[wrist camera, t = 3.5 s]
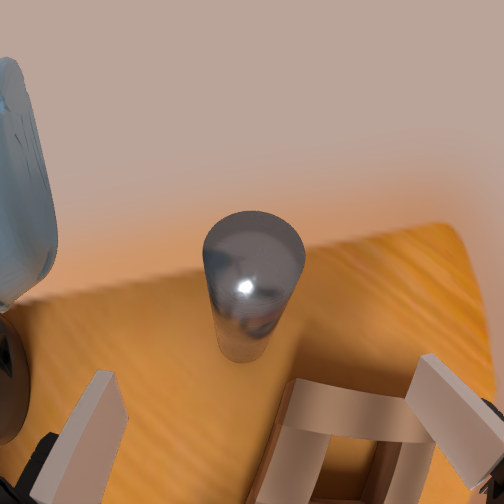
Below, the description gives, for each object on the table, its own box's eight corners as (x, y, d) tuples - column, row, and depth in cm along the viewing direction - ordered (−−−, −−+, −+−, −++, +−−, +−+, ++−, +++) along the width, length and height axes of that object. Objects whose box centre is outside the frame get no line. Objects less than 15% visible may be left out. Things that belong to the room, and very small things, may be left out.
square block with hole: (238, 519, 15) (239, 538, 11) (286, 383, 21) (296, 377, 18) (380, 529, 13) (401, 542, 10) (417, 406, 20) (443, 402, 16)
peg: (211, 354, 22) (186, 279, 10) (227, 311, 24) (223, 200, 12) (258, 369, 22) (292, 312, 10) (272, 325, 24) (313, 226, 12)
